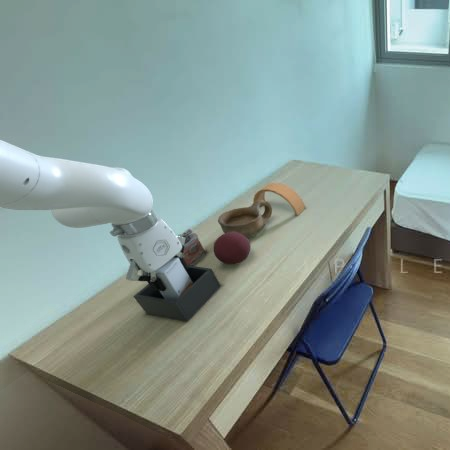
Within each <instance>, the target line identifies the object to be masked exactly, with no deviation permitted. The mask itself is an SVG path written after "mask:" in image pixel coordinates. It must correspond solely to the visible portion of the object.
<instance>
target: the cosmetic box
mask: <svg viewBox="0 0 450 450" xmlns="http://www.w3.org/2000/svg"><path fill="white" fill-rule="evenodd" d="M148 275H149V272H148ZM156 278H159V279H160V280H161V281H162V283H163V284H164V286H165V287H166V290H165V291H160V293H161V294H162V296H163V297H164V299H166V300H172V301H175V300H177V299H178V298H179V297H180V296H181V295H182V294H183V293H184V292H185V291H186V290H187V289H188V288H189V287H190V286H191V285H192V284H193V282H192V280H191V279H190V277H189V275H188V273H187V272H186V270H185V268H184V266H183V265H182V263H181V261H180V259H179V258H172V259H170V260H169V261H168V262H167V263H165V264H164V265H163V266H162V267H160V268H159V269H158V270H156Z"/></svg>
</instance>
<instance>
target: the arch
mask: <svg viewBox="0 0 450 450" xmlns="http://www.w3.org/2000/svg"><path fill="white" fill-rule="evenodd" d="M266 192H268V193H269V192H270V193H273V194H276V195H278V196H280V197H281V198H283V200H285V201H286V202H287V203H288V204H289V206H290V207H291V208H292V209H293V212H294V214H295V216H299V215H300V214H302V213H303V212H304V211H305V210H306V204H305V202H304V200H303V199H302V198H301V196H300V195H299V194H298V192H297V191H295V190H294V189H292V187H289V186H288V185H286V184H284V183H280V182H272V183H271V182H270V183H268V184H267V185H264V187H262V188H261V189H260V190H258V191H257V192H255V194H254V196H253V200H252V201H253V202H252V204H253V203H254V202H255V201H259V200H262V201H266V196H265V195H266Z"/></svg>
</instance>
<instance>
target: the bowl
mask: <svg viewBox="0 0 450 450" xmlns="http://www.w3.org/2000/svg"><path fill="white" fill-rule="evenodd" d="M261 207H264V212H263V214H262V213H261V209H260V208H261ZM272 214H273V207H272V205H271V204H270V203H269V202H267V201H266V200H265V201H262V200H259V201H255V202H254V203H253V202H252V204H251V205H250V206H248V207H247V206H245V207H238V208H233V209H231V210H228V211H225V212H223V213H221V214H220V215H219V217H218V219H217V223H218V224H219V225H220V228H221V230H222V232H223V234H225V233H228V232H237V233H240V234H242V235H244V236H245V237H246V238H247V239H248V238H250V237H254V236H255V235H257V234H259V232H261V231H262V230H263V229H264V227H265V225H266V223H267V222H268V221H269V219H270V218H271V217H272Z"/></svg>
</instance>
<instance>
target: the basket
mask: <svg viewBox="0 0 450 450" xmlns="http://www.w3.org/2000/svg"><path fill="white" fill-rule="evenodd" d="M187 267H188V268H189V270H188V271H186V272H187V273H188V275H189V277H190V279H191V280H192V282H193V284H192V285H191V286H190V287H189V288H188V289H187V290H186V291H185V292H184V293H183V294H182V295H181V296H180V297H179V298H178V299H177V300H175V301H172V300H166V299H164V297H163V296H162V294H161V293H160V291H158V290H157V291H155V290H153V289H152V288H151V287H150V285H149V284H148V283H147V285H145V286H144V287H143V288H142V289H140V290H139V291H138V292H137V293H135V294H134V295H133V296H132V297H133V298H134V299H135V301H136V303H138V305H139V306H140V307H141V308H142V310H143V312H144V313H145V314H146V315H148V316H153V317H160V318H165V319H170V320H175V321H181V322H185V323H188V322H189V321H190V319H192V317H194V315H195V314H196V313H197V312H198V311H199V310H200V309H201V308H202V307H203V306H204V305H205V304H206V302H208V301H209V300H210V298H212V296H213V295H214V294H215V293H216V292H217V291H218V290H219V289H220V288H221V287H222V285H221V284H220V281H219V279H218V278H217V275H216V274H215V272H214V270H213V268H211V267H203V266H196V265H194V266H190V265H187Z"/></svg>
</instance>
